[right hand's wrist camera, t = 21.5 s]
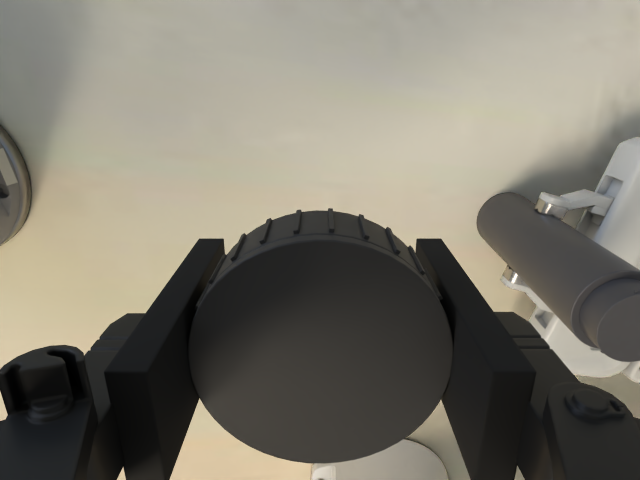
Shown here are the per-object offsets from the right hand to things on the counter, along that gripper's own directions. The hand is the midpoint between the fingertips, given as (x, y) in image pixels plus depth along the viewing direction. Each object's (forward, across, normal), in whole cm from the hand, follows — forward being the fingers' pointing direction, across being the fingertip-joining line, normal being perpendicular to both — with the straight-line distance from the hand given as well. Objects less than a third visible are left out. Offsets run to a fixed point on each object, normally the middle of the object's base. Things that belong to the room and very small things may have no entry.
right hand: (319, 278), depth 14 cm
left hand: (+21, +17, -7) cm, 28 cm away
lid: (-4, 0, 0) cm, 4 cm away
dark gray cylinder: (+27, +18, -7) cm, 33 cm away
